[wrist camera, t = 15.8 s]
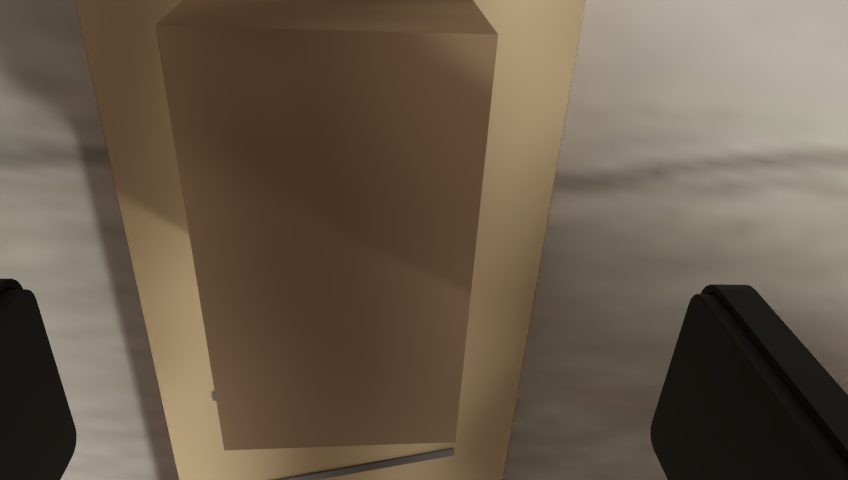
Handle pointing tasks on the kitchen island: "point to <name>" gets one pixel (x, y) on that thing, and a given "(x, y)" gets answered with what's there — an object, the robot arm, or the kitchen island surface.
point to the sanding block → (331, 209)
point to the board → (493, 266)
